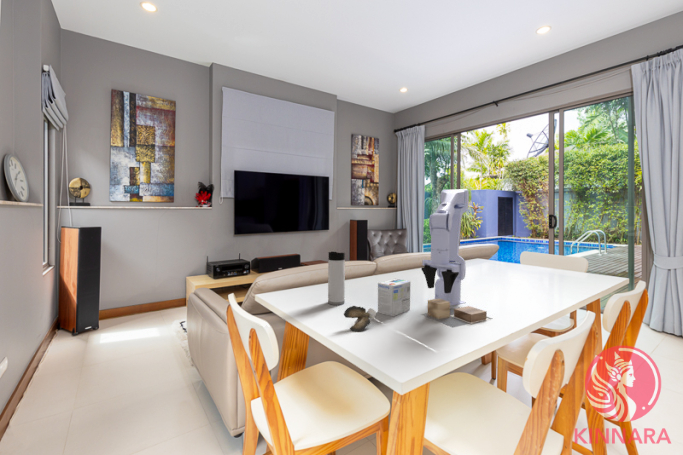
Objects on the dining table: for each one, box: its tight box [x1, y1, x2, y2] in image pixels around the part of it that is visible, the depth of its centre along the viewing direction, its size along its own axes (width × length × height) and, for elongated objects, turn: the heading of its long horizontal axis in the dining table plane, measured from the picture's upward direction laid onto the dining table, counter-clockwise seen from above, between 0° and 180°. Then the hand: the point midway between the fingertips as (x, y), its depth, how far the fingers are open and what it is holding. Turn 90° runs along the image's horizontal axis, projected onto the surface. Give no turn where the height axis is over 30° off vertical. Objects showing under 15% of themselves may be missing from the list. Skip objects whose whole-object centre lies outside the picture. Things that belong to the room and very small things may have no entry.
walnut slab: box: [454, 305, 488, 323], centre depth 106 cm, size 7×7×2 cm
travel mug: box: [327, 251, 346, 306], centre depth 123 cm, size 6×7×20 cm
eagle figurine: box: [343, 305, 377, 333], centre depth 98 cm, size 8×7×9 cm
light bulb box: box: [377, 278, 411, 317], centre depth 113 cm, size 11×7×11 cm, turn 135°
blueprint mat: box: [420, 306, 493, 328], centre depth 107 cm, size 14×18×1 cm
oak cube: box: [427, 298, 451, 319], centre depth 108 cm, size 5×5×5 cm
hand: (439, 290), depth 107 cm, fingers open, 7 cm apart
